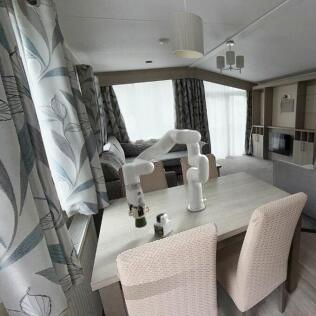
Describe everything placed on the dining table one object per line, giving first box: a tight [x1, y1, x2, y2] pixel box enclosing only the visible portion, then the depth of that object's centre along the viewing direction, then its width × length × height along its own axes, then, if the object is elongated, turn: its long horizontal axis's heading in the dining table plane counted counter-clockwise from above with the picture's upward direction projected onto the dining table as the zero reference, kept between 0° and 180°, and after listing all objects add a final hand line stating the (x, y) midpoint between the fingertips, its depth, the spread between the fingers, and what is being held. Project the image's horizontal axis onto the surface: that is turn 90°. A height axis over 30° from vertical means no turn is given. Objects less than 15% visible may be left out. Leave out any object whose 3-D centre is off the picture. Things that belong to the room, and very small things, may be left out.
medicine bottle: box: [153, 212, 173, 238], centre depth 119 cm, size 7×7×12 cm
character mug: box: [127, 203, 150, 229], centre depth 115 cm, size 11×7×13 cm, turn 123°
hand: (137, 213), depth 113 cm, fingers closed on character mug, 7 cm apart
